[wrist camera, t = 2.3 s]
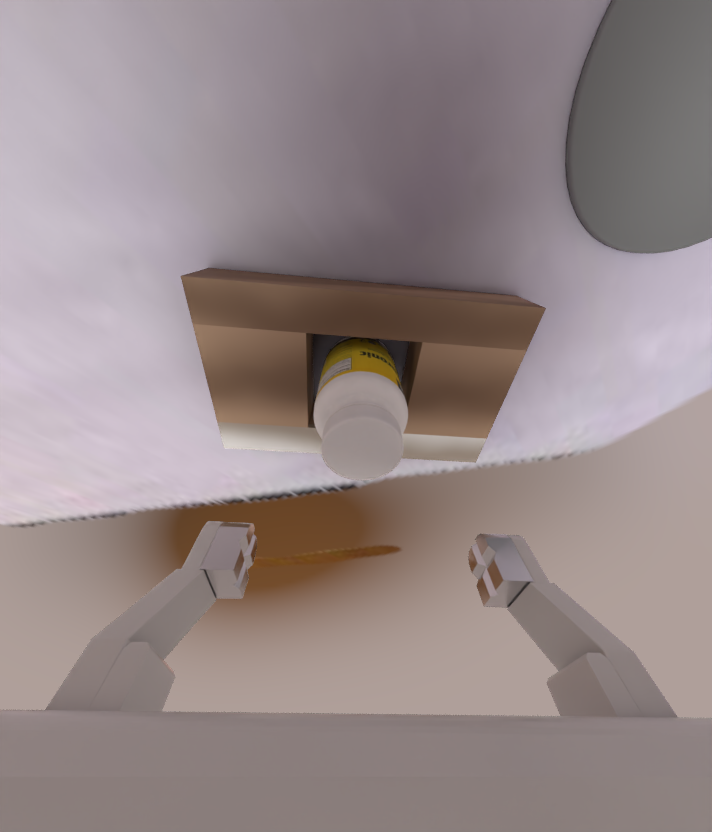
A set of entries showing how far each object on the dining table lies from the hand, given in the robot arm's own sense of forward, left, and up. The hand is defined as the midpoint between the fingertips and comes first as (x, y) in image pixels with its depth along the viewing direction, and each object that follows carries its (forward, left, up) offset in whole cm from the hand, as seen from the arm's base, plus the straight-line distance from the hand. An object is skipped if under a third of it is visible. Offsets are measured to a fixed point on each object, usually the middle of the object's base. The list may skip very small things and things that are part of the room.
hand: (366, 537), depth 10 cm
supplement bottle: (0, 0, -14) cm, 14 cm away
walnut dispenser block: (0, 0, -14) cm, 14 cm away
